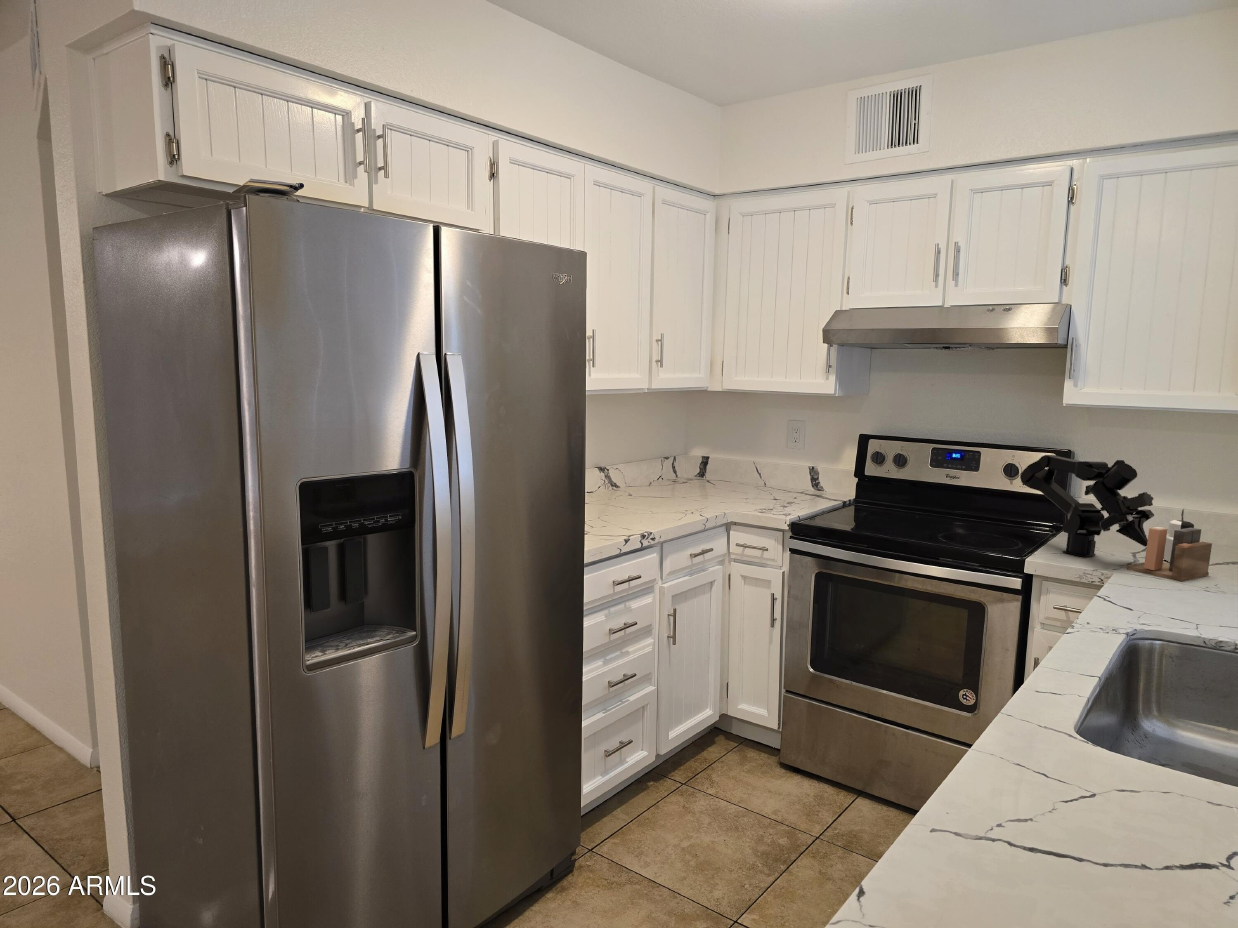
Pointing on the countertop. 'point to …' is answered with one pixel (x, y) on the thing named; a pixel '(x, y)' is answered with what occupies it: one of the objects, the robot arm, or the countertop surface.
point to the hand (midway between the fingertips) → (1147, 545)
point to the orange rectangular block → (1155, 548)
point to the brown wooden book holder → (1183, 557)
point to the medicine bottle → (1169, 539)
